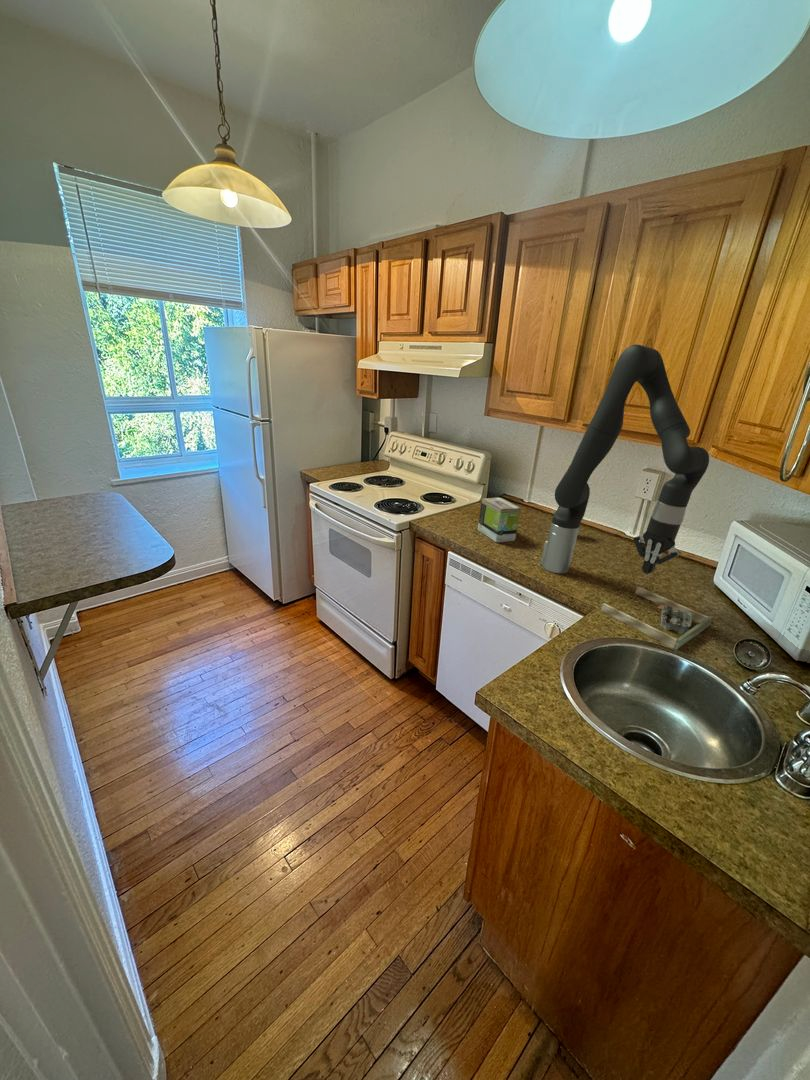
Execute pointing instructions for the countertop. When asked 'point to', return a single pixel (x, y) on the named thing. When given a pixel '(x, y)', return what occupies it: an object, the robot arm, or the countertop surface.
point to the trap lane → (655, 633)
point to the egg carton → (675, 620)
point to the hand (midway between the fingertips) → (646, 572)
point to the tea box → (499, 519)
